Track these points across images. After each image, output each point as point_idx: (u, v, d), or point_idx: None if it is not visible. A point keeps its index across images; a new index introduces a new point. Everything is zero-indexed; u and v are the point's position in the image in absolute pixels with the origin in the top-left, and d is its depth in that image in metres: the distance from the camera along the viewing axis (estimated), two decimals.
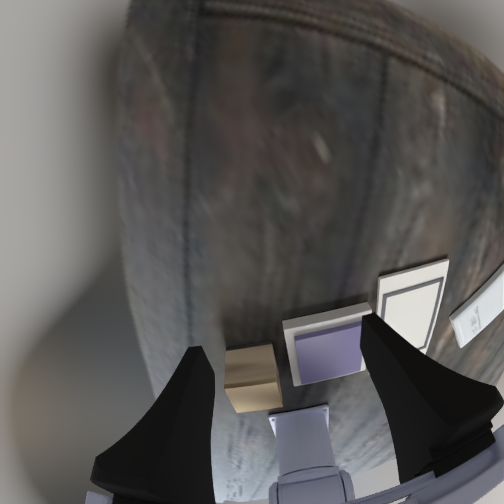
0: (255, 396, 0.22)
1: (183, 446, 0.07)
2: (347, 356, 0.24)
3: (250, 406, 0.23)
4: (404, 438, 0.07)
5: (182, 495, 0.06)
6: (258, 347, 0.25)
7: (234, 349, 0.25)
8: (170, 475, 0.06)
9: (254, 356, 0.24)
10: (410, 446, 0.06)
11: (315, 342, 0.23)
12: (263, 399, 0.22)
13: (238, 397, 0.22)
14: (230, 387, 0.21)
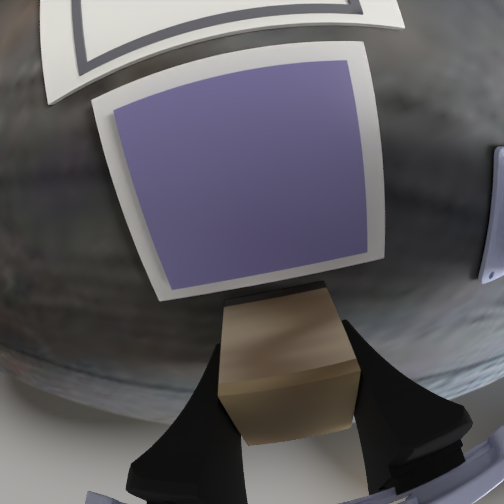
0: (283, 418, 0.08)
1: (222, 446, 0.07)
2: (252, 122, 0.07)
3: (331, 418, 0.09)
4: (370, 450, 0.07)
5: (223, 497, 0.06)
6: None
7: None
8: (214, 477, 0.06)
9: None
10: (375, 459, 0.06)
11: (175, 241, 0.09)
12: (302, 407, 0.08)
13: (284, 433, 0.09)
14: (245, 439, 0.09)
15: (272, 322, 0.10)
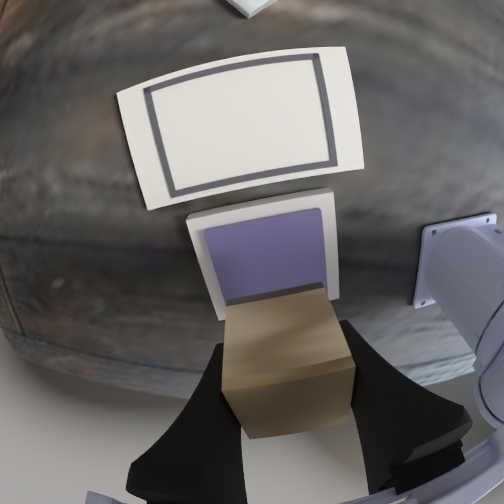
0: (283, 412, 0.09)
1: (222, 446, 0.07)
2: (273, 244, 0.17)
3: (329, 412, 0.09)
4: (370, 450, 0.07)
5: (223, 497, 0.06)
6: None
7: None
8: (214, 477, 0.06)
9: None
10: (375, 459, 0.06)
11: (233, 294, 0.18)
12: (301, 401, 0.09)
13: (283, 427, 0.10)
14: None
15: (272, 321, 0.11)
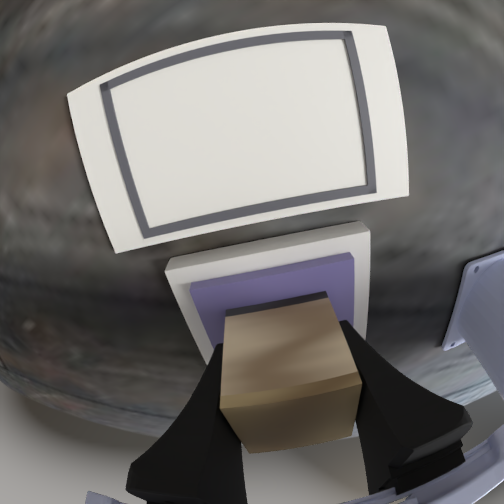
0: (285, 428, 0.08)
1: (222, 446, 0.07)
2: None
3: (332, 427, 0.09)
4: (370, 450, 0.07)
5: (223, 497, 0.06)
6: None
7: None
8: (214, 477, 0.06)
9: None
10: (375, 459, 0.06)
11: None
12: (304, 418, 0.08)
13: (285, 442, 0.09)
14: None
15: (274, 333, 0.10)
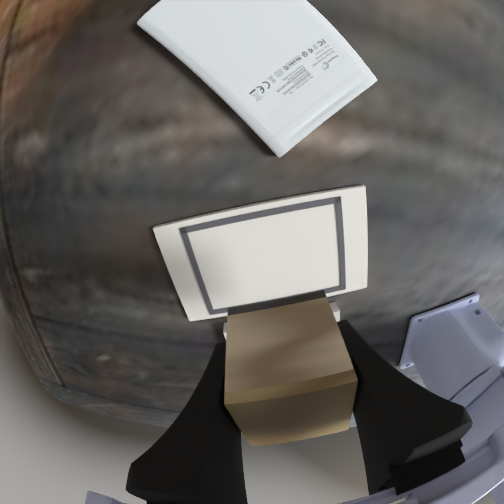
0: (285, 422, 0.09)
1: (222, 446, 0.07)
2: None
3: (330, 421, 0.09)
4: (370, 450, 0.07)
5: (223, 497, 0.06)
6: None
7: None
8: (214, 477, 0.06)
9: None
10: (375, 459, 0.06)
11: None
12: (303, 413, 0.09)
13: (285, 435, 0.10)
14: None
15: (274, 332, 0.11)
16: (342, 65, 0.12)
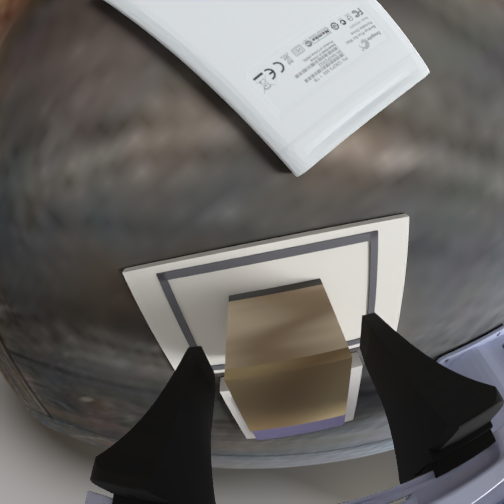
0: (283, 403, 0.10)
1: (183, 446, 0.07)
2: None
3: (327, 403, 0.10)
4: (404, 438, 0.07)
5: (182, 495, 0.06)
6: None
7: None
8: (170, 475, 0.06)
9: None
10: (411, 446, 0.06)
11: (262, 431, 0.17)
12: (300, 392, 0.09)
13: (283, 419, 0.10)
14: None
15: (273, 315, 0.11)
16: (386, 46, 0.08)
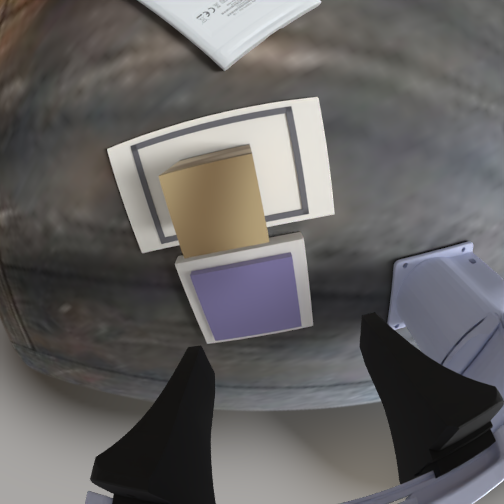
0: (205, 209, 0.13)
1: (183, 446, 0.07)
2: (250, 284, 0.19)
3: (246, 217, 0.13)
4: (404, 438, 0.07)
5: (182, 495, 0.06)
6: None
7: None
8: (170, 475, 0.06)
9: None
10: (411, 446, 0.06)
11: (218, 324, 0.21)
12: (217, 194, 0.12)
13: (210, 237, 0.13)
14: (181, 248, 0.14)
15: (206, 156, 0.15)
16: None
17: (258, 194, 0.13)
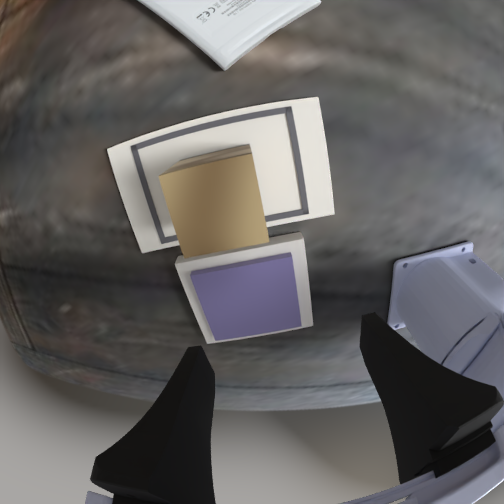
0: (205, 209, 0.13)
1: (183, 446, 0.07)
2: (250, 284, 0.19)
3: (246, 217, 0.13)
4: (404, 438, 0.07)
5: (182, 495, 0.06)
6: None
7: None
8: (170, 475, 0.06)
9: None
10: (411, 446, 0.06)
11: (218, 324, 0.21)
12: (217, 194, 0.12)
13: (210, 237, 0.13)
14: (181, 248, 0.14)
15: (206, 156, 0.15)
16: None
17: (258, 194, 0.13)
